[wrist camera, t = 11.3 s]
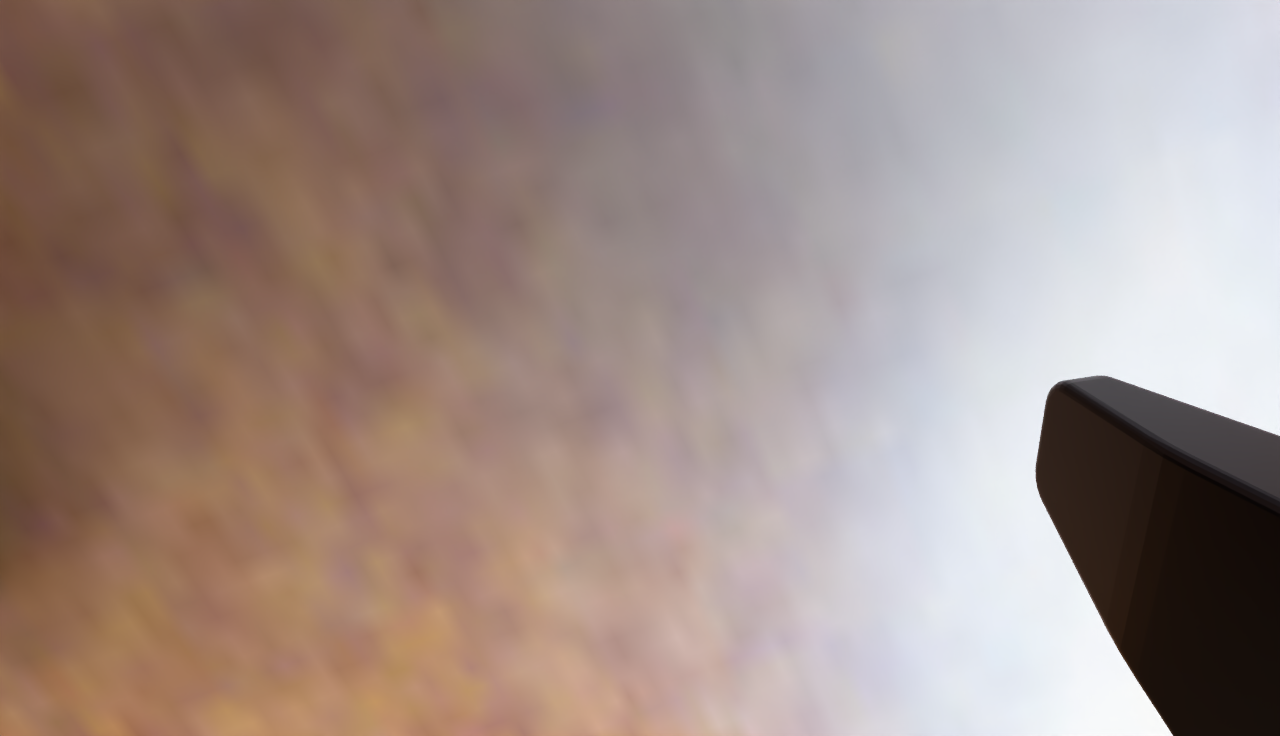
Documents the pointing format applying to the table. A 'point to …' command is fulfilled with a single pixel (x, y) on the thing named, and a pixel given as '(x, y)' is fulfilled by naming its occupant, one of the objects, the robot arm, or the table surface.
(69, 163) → the table surface
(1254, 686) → the robot arm
